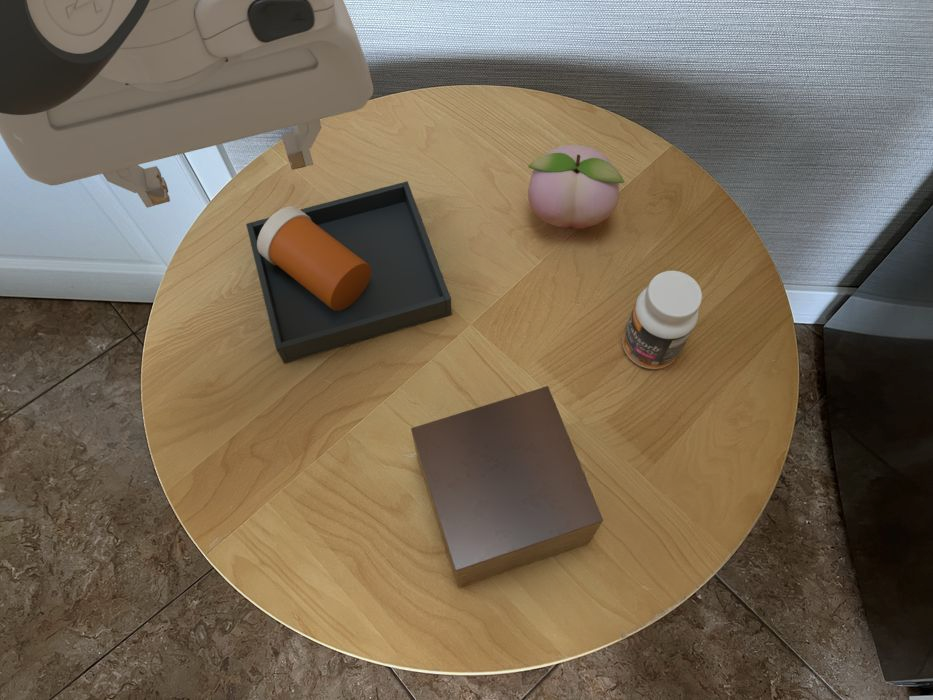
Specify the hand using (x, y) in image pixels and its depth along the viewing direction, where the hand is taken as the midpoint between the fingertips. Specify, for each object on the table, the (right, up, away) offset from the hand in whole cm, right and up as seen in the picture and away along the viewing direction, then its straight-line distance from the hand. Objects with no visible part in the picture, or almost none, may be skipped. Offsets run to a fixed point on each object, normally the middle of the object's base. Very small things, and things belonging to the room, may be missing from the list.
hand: (230, 178), depth 49 cm
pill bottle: (+33, -11, +25) cm, 43 cm away
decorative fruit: (+26, +3, +32) cm, 41 cm away
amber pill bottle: (+4, -5, +24) cm, 25 cm away
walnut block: (+18, -25, +18) cm, 36 cm away
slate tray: (+3, -4, +28) cm, 29 cm away
